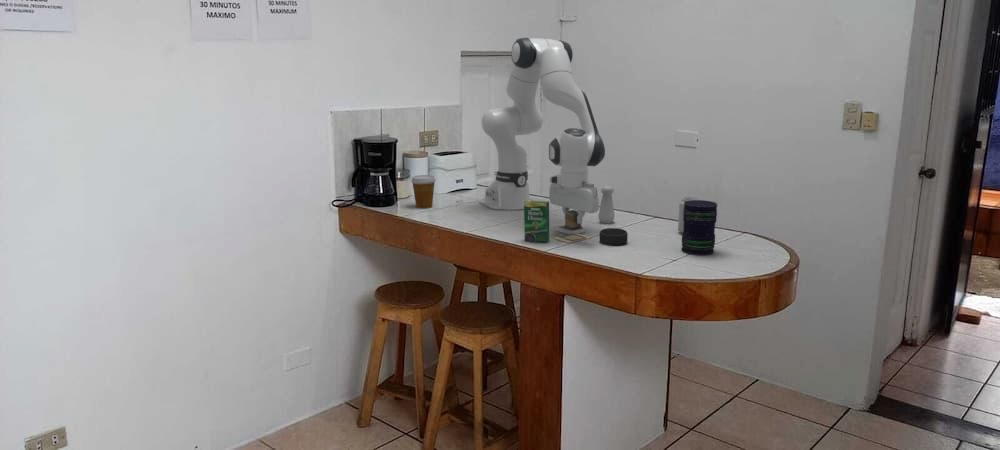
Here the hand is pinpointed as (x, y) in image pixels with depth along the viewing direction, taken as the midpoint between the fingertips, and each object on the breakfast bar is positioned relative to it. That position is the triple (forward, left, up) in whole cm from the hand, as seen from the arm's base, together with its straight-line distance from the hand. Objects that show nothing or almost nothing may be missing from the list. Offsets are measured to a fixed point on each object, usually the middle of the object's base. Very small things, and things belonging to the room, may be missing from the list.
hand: (573, 221), depth 232 cm
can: (+18, +36, -6) cm, 41 cm away
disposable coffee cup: (-73, -13, -6) cm, 74 cm away
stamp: (0, 0, -2) cm, 2 cm away
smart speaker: (+11, +7, -6) cm, 15 cm away
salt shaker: (-10, +25, -6) cm, 27 cm away
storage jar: (+34, +20, -6) cm, 40 cm away
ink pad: (-8, +6, -6) cm, 11 cm away
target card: (0, 0, -6) cm, 6 cm away
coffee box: (-5, -12, -6) cm, 14 cm away
